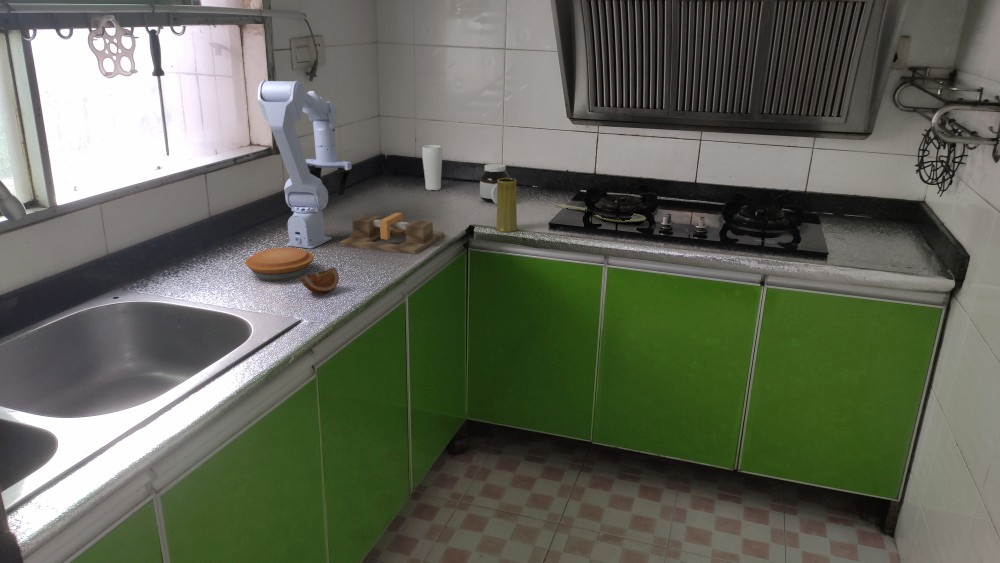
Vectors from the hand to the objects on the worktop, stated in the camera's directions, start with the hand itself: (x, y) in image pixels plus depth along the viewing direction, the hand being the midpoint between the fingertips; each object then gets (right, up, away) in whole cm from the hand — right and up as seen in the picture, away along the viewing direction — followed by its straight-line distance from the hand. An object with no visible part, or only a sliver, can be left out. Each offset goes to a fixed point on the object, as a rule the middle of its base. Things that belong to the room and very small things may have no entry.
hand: (329, 193), depth 209 cm
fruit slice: (+9, -28, -47) cm, 55 cm away
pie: (-3, -23, -35) cm, 42 cm away
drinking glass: (+25, +7, +50) cm, 56 cm away
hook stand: (+19, -14, -10) cm, 26 cm away
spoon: (+78, -5, +16) cm, 80 cm away
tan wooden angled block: (+19, -12, -10) cm, 25 cm away
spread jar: (+48, +1, +32) cm, 57 cm away
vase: (+50, -10, +1) cm, 51 cm away
